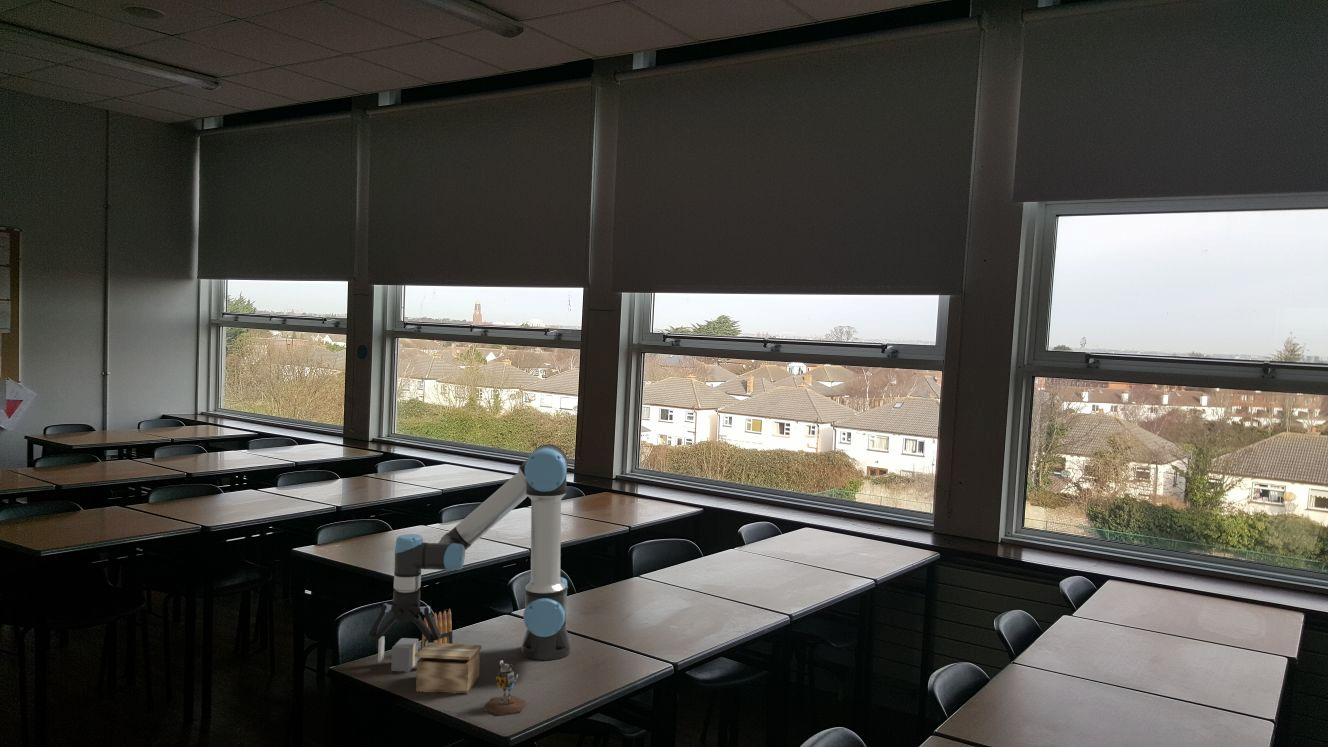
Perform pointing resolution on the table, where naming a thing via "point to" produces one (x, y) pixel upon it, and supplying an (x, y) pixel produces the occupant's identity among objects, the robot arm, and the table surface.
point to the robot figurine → (509, 702)
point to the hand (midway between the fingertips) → (403, 661)
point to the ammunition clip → (441, 628)
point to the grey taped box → (404, 654)
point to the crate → (447, 674)
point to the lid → (448, 651)
